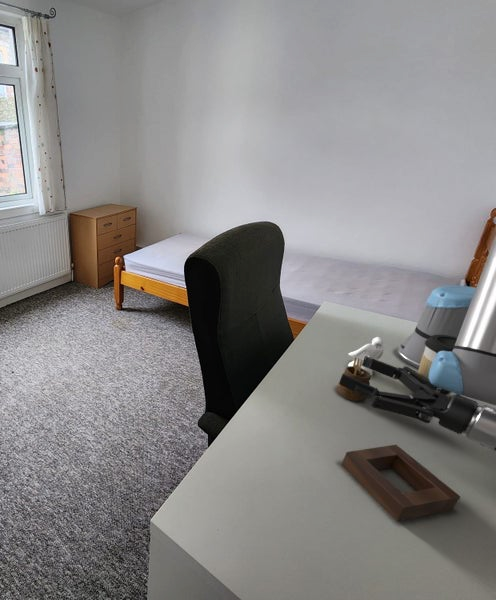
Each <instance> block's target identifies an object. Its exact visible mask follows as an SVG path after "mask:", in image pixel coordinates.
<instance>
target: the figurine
mask: <svg viewBox="0 0 496 600" xmlns="http://www.w3.org/2000/svg"><path fill="white" fill-rule="evenodd" d="M383 344H384V341H383V339H382V337H379V336H375V337H374V338H372V340H371V343H366V344H364V345H363V346H362V347H360V348H358V349H357V350H354V351H350V352H349V353H347V356H349V357H351V358H355V357H356V358H357V357H358V358H357V359H356V365H357V361H358V359H360V360H359V361H360V362H361V360H363V361H364V358H365V355H366V356H370V357H371V358H373V359H375V360H380V359H381V358H382V356H383V354H384V351H385V347H384V345H383ZM362 356H363V358H361V357H362ZM363 361H362V363H363ZM360 362H359V366H360ZM353 364H354V360H352V361H350V362H349V363H348V364H347V367H349V366H353ZM361 368H362V369H363V368H364V370H367V369H368V368H366V367H364V366H362V365H361ZM367 371H368V372H369V373H370V375H371V376H374V374H373V372H374V370H371V369H368V370H367Z"/></svg>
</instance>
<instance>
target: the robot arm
mask: <svg viewBox="0 0 496 600" xmlns="http://www.w3.org/2000/svg"><path fill="white" fill-rule="evenodd" d="M492 221H493V223H494V224H495V225H496V214H495V215H494V218H493V220H492ZM433 335H448V336H453V337H457V341H456V343H455V346H454V349H453V351H452V352H451V351H450V352H448V351H440V352H438V353H437V354H436V356H435V358H434V361H433V362H432V364H431V367H430V371H429V376H428V378H429V379H428V378H426V377H424V376H423V375H421V374H419V373H418V371H416V370H414V369H412V368H410V367H409V366H408V365H410V366H412V367H414V368H416V369H417V370H419V366H420V362H421V359H422V355H423V352H424V351H425V347H426V345H425V341H426V340H427V339H429V338H430V337H431V336H433ZM396 355H397V357H398V358H399V359H401V360H402V361H403V362H405V363H407V366H406V365H405V366H402V367H396V366H394V365H391V364H388V363H385V362H384V361H381V360H379V359H373V358H370V357H367V356H365V358H364V361H363V363H362V365H363V366H364V367H367V368H369V369H371V370H373V372H376V373H379V374H382V375H384V376H386V377H389V378H391V379H393V380H398V381H399V382H400V383H402V384H403V386H405V387H406V388H407V389H409V391H411V392H412V393H409V394H401V393H394V392H387V391H381V390H379V388H377V387H374V386H373V385H371V384H370V385H368V384H365V383H363V382H361V381H359V380H356V379H354V378H352V377H349V376H347V375H345V374H343V373H342V374H343V375H342V374H341V376H342V377H341V376H340V378H341V379H340V378H339V381H340V382H339V381H338V384H340V385H342V386H344V387H346V388H348V389H350V390H352V391H355V392H356V393H358V394H361V395H363V396H365V398H367V399H369V401H370V406H371V407H372V408H375V409H378V410H381V411H386V412H389V413H392V414H393V413H394V414H396V415H401V416H404V417H407V418H412V419H415V420H418V421H420V422H422V423H425V424H430V423H431V422H432V420H433V418H435V419H438V425H439V426H440V427H442V428H444V429H446V430H449V431H451V432H453V433H455V434H458V435H462V434H465V436H466V438H467V439H469V440H471V441H473V442H476V443H477V444H480V445H481V446H483V447H487V448H489V449H491V450H494V451H495V452H496V408H494V407H492V406H489V405H487V404H490V405H494V406H496V235H495V236H494V239H493V242H492V244H491V246H490V250H489V252H488V255H487V258H486V260H485V263H484V266H483V269H482V271H481V274H480V277H479V279H478V282H477V284H476V287H475V286H468V285H444V286H443V285H442V286H439V287H437V288H435V289H433V290H432V291H431V293H430V295H429V297H427V300H426V301H425V305H424V308H423V311H422V313H421V315H420V317H419V319H418V321H417V324H416V326H415V329H414V331H413V332H412V333H411V334H410V335H409V336H408V337H406V339H405V340H404V341H402V343H400V344H399V346H398V348H397V350H396ZM366 357H367V358H366ZM369 358H370V360H369ZM371 359H372V361H371ZM367 360H368V361H367ZM371 362H372V363H371ZM367 365H368V366H367ZM450 391H451V392H452V393H453V396H452V397H451V398H450V396H449V397H448V395H449V393H450ZM476 400H477V401H476ZM478 401H480V402H484V403H487V404H485V405H483V406H481V405H479V403H478Z"/></svg>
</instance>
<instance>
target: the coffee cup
mask: <svg viewBox="0 0 496 600" xmlns="http://www.w3.org/2000/svg"><path fill="white" fill-rule="evenodd" d="M456 341H457V337H453V336H448V335H433V336H431V337H430V338H429V339H427V340H426V341H425V345H426V347H425V351H424V352H423V355H422V359H421V362H420V366H419V369H417V373H419V374H421V375H423V376H424V377H426V378H428V376H429V371H430V367H431V364H432V362H433V361H434V358H435V356H436V354H437V353H438V352H440V351H448V352H450V351H451V352H452V351H453V349H454V346H455V343H456ZM428 379H429V378H428ZM451 394H453V392H451V391H450V393H449V395H448V397H449V398H450V396H451Z"/></svg>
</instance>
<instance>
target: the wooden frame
mask: <svg viewBox="0 0 496 600" xmlns="http://www.w3.org/2000/svg"><path fill="white" fill-rule="evenodd" d="M341 466H342V468H344V470H346V472H348V473H349V475H350V476H352V478H353V479H354V480H356V481H357V482H358V484H360V485H361V487H363V488H364V489H365V491H366V492H367V493H368V494H369V495H370V496H371V497H372V498H373V499H374V500H375V501H376V502H377V503H378V504H379V505H380V506H381V507H382V508H383V509H384V510H385V511H386V512H387V513H388V514H389V515H390V516H391V517H392V518H393V520H395V521H396V522H399V521H404V520H410V519H415V518H419V517H426V516H430V515H435V514H440V513H445V512H446V513H447V512H451V511H453V510H454V508H455V507H456V505H457V503H458V502H459V500H460V499H461V496H460V495H459V494H458V493H457V492H455V491H454V490H453V489H452V488H451V487H450V486H448V485H447V484H446V483H445V482H443V481H442V480H441V479H439V478H438V477H437V476H436V475H435V474H434V473H432V472H431V471H430V470H428V468H426V467H424V466H423V465H422V464H421V463H420V462H419V461H417V460H416V459H415V458H414V457H412V456H411V455H410V454H408V453H407V452H406V451H405V450H403V448H401V447H400V446H399V445H397V444H391V445H383V446H377V447H371V448H365V449H358V450H351V451H346V452H345V455H344V457H343V459H342V462H341ZM390 468H391V469H392V470H393V471H394V472H396V473H397V474H398V475H399V476H400V477H401V478H402V479H403V480H405V482H407V483H408V484H409V485H410V486H411V487H413V488H414V489H415V490H414V491H408V492H402V491H400V489H399V488H398V487H396V486H395V485H394V483H392V482H391V481H390V480H389V479H388V478H386V476H384V474H382V473H381V472H380V471H379V470H384V469H390Z"/></svg>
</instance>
